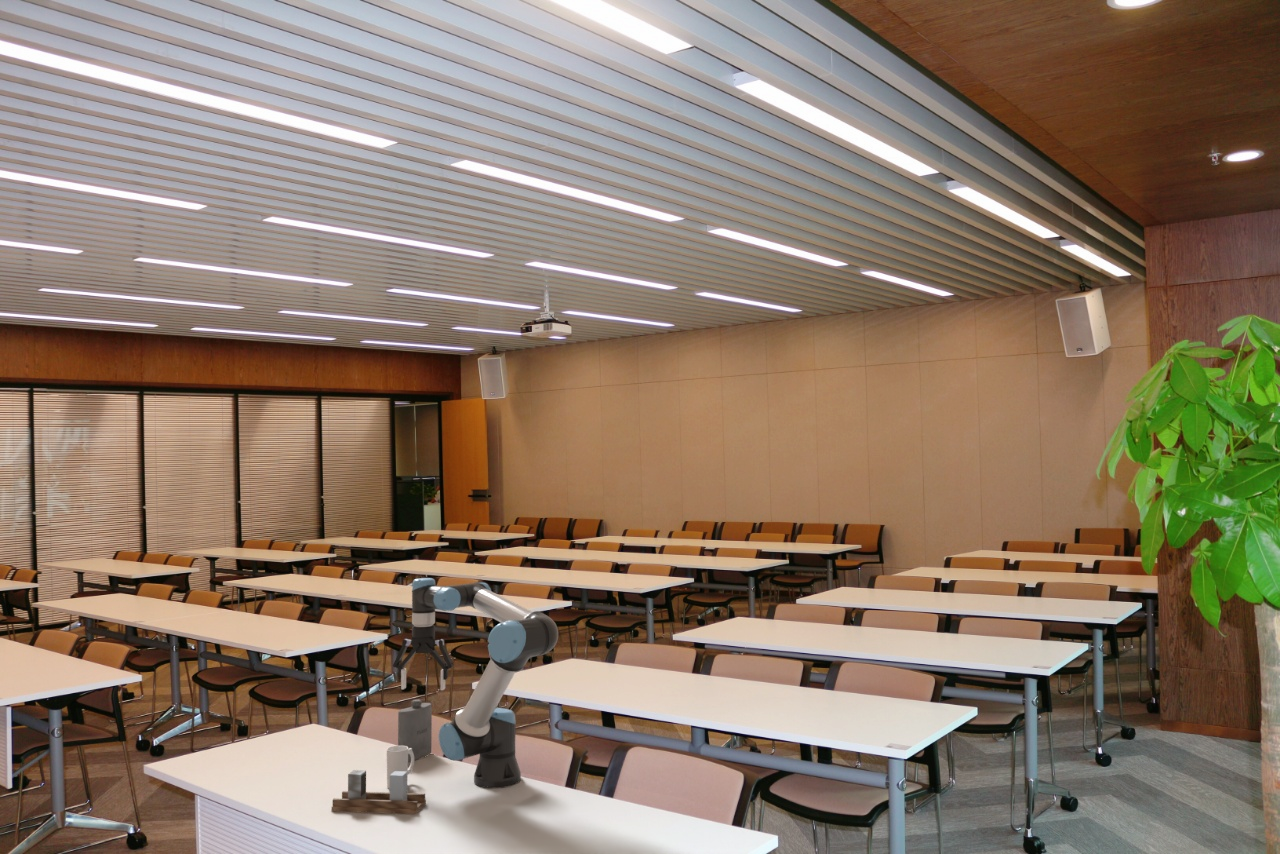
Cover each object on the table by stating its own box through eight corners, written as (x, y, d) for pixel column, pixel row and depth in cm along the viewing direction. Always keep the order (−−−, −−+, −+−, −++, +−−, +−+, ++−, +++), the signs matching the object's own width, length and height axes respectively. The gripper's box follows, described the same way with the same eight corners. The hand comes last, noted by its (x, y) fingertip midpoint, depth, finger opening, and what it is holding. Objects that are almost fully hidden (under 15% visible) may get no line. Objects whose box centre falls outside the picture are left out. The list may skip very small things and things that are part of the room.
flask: (407, 764, 331) (408, 705, 332) (395, 761, 334) (395, 703, 335) (436, 752, 344) (436, 696, 345) (423, 750, 347) (423, 695, 348)
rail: (425, 803, 291) (426, 769, 291) (415, 814, 282) (415, 779, 282) (344, 800, 294) (344, 767, 294) (331, 811, 285) (331, 776, 285)
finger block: (407, 801, 289) (407, 771, 289) (402, 806, 285) (402, 775, 285) (394, 801, 289) (394, 771, 290) (389, 805, 285) (389, 775, 286)
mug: (394, 791, 303) (395, 752, 303) (382, 786, 307) (382, 748, 307) (420, 782, 310) (420, 745, 311) (407, 778, 315) (407, 742, 315)
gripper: (463, 623, 322) (462, 687, 321) (391, 622, 325) (391, 685, 324) (456, 627, 314) (456, 692, 313) (383, 626, 317) (383, 690, 316)
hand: (423, 689), depth 319 cm, fingers open, 13 cm apart
